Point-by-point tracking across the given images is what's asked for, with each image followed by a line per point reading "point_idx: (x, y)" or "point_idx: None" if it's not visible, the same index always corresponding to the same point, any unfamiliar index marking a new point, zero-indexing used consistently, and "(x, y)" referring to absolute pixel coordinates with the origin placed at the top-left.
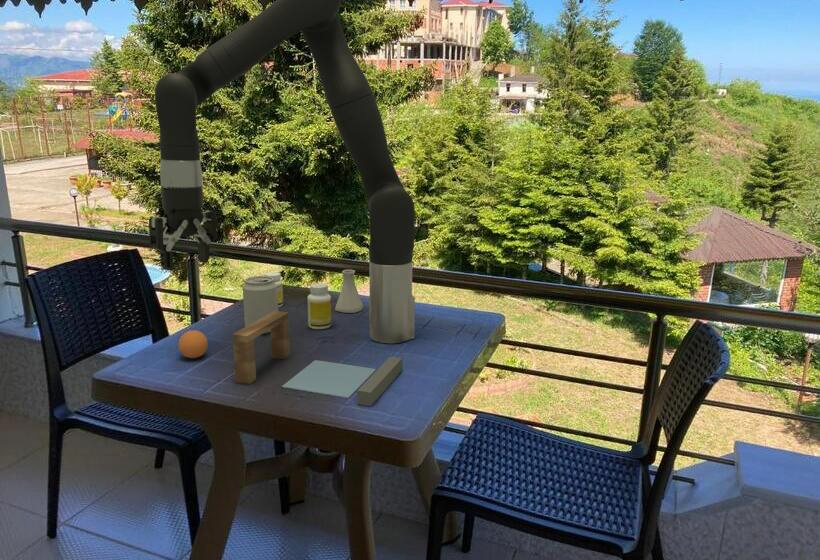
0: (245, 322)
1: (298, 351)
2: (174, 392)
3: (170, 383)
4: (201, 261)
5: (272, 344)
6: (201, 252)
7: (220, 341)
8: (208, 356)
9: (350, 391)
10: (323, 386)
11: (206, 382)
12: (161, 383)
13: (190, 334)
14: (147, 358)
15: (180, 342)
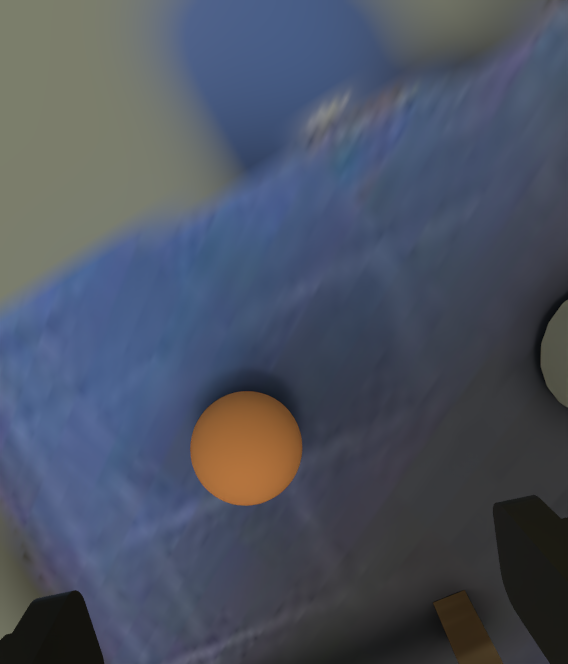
0: (560, 339)
1: None
2: None
3: (93, 563)
4: (500, 541)
5: (450, 643)
6: (560, 623)
7: (404, 349)
8: None
9: None
10: None
11: (177, 626)
12: (72, 545)
13: (225, 487)
14: (120, 317)
15: (191, 455)
